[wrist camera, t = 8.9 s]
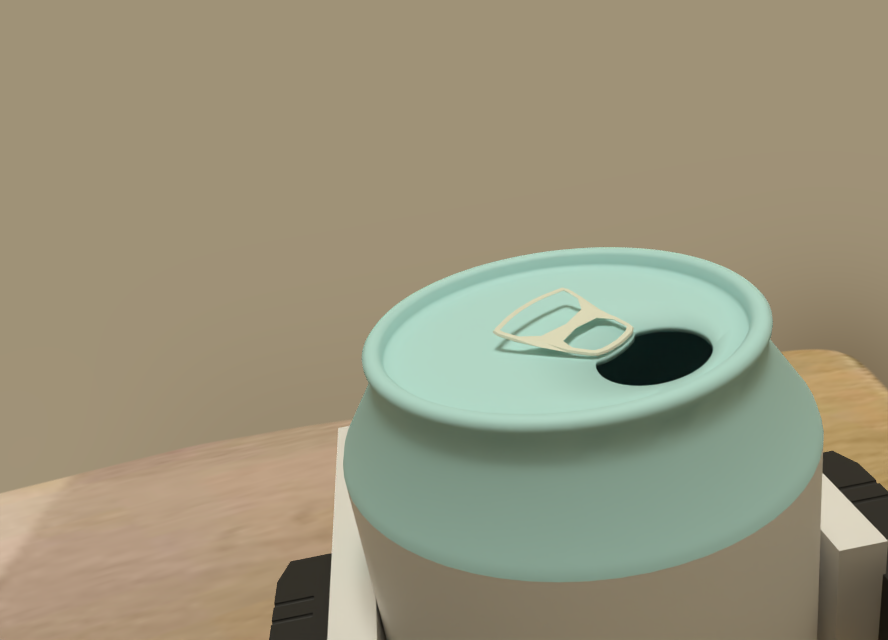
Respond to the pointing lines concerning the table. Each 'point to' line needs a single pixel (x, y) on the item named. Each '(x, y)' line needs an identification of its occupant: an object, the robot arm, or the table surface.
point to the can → (587, 456)
